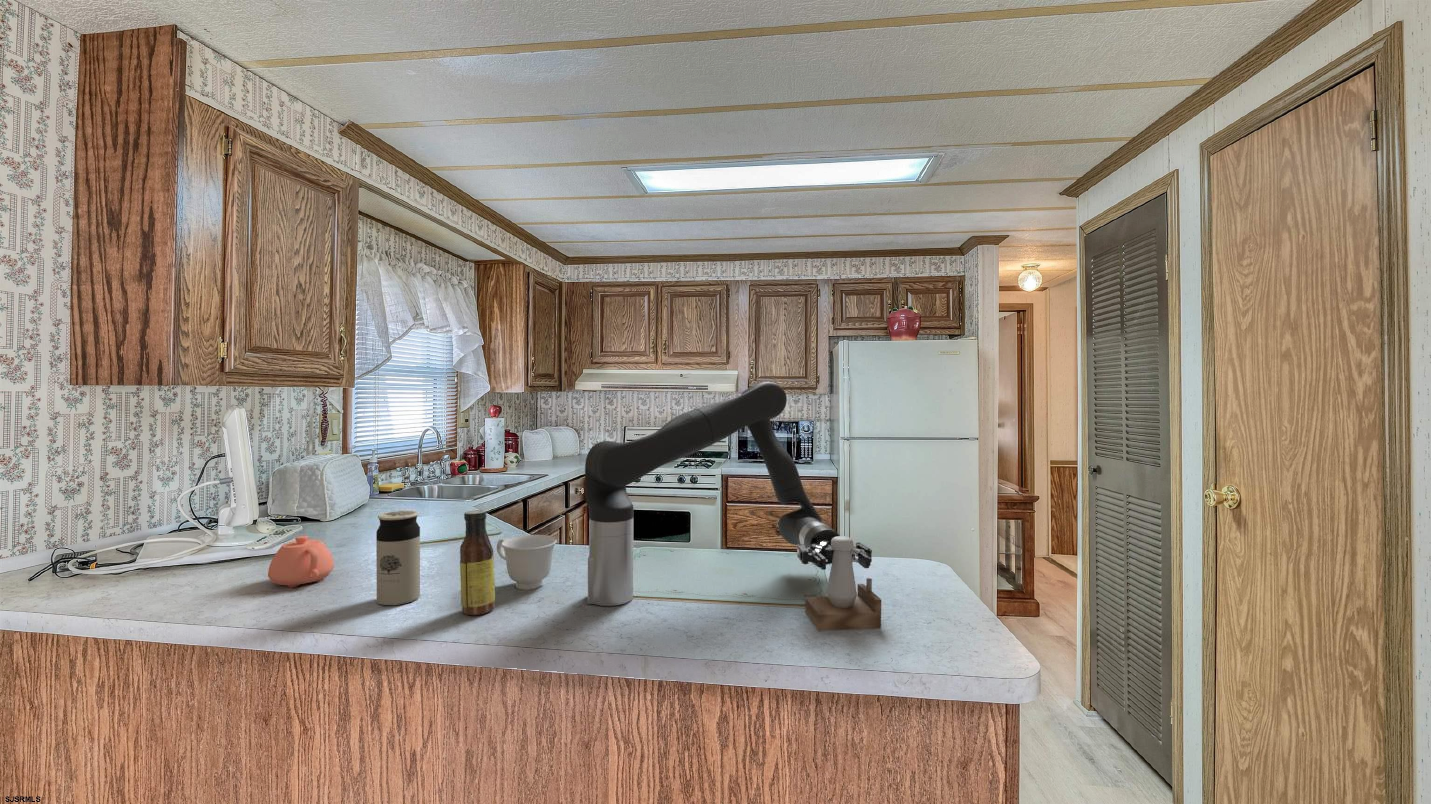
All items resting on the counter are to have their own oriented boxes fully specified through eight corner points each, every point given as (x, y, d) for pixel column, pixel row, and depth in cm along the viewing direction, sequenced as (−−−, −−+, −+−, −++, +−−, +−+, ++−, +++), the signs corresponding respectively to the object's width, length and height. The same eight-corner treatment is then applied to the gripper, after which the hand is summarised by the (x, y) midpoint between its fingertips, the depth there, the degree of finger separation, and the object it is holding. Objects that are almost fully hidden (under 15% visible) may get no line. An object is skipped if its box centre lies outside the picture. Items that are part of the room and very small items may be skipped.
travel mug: (396, 591, 125) (396, 509, 125) (428, 594, 124) (428, 511, 123) (367, 604, 117) (366, 516, 117) (401, 608, 116) (400, 519, 116)
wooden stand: (818, 631, 107) (819, 589, 106) (805, 612, 116) (805, 573, 115) (881, 628, 108) (881, 586, 108) (862, 610, 117) (863, 571, 117)
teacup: (515, 572, 139) (515, 531, 139) (567, 580, 133) (567, 537, 133) (478, 588, 128) (478, 543, 127) (533, 598, 122) (533, 551, 122)
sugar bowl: (321, 569, 140) (321, 527, 140) (346, 580, 132) (346, 536, 132) (259, 582, 130) (259, 537, 130) (282, 596, 122) (282, 548, 122)
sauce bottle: (501, 607, 117) (501, 509, 116) (479, 618, 111) (479, 516, 110) (475, 603, 119) (475, 507, 118) (452, 614, 113) (452, 513, 113)
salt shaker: (839, 611, 108) (840, 542, 108) (820, 602, 113) (820, 536, 113) (863, 606, 111) (863, 539, 111) (843, 597, 116) (843, 532, 116)
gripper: (788, 525, 125) (810, 545, 109) (851, 523, 127) (882, 543, 110) (788, 559, 125) (809, 584, 109) (851, 557, 127) (881, 582, 111)
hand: (846, 564), depth 110 cm, fingers open, 8 cm apart
